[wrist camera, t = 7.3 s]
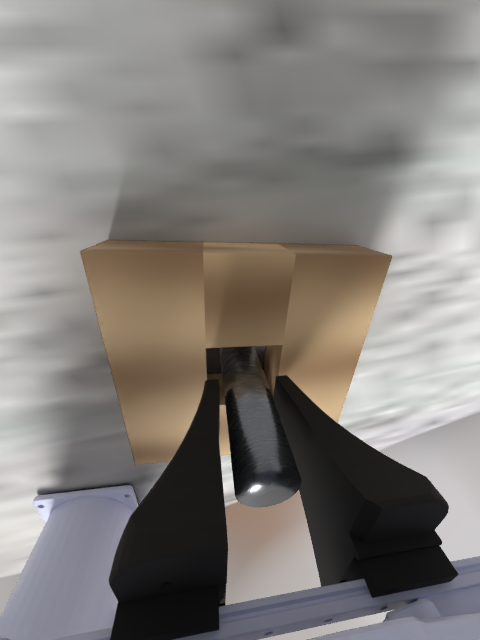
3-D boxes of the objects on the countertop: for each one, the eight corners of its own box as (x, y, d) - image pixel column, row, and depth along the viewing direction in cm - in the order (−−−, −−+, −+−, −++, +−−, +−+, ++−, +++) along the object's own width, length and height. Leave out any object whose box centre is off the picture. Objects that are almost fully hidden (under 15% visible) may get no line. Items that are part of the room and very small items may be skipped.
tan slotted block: (314, 412, 20) (330, 444, 18) (145, 426, 18) (135, 464, 16) (356, 245, 14) (392, 255, 11) (107, 240, 12) (80, 251, 9)
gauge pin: (250, 363, 17) (290, 505, 9) (217, 360, 16) (229, 509, 9) (257, 334, 16) (310, 466, 8) (222, 331, 15) (242, 467, 8)
